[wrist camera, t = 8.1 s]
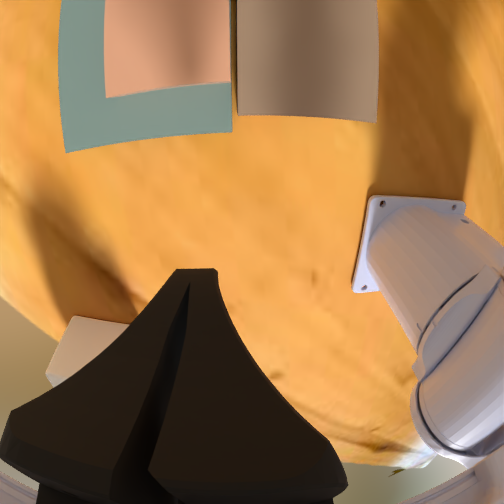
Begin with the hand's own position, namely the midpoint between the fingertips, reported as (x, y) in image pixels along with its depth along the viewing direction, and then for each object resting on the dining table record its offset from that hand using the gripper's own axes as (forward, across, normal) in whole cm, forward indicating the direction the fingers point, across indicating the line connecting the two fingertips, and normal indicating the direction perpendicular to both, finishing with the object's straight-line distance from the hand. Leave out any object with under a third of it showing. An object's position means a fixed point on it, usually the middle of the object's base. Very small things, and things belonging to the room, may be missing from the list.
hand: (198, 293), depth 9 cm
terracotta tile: (+8, +2, -11) cm, 14 cm away
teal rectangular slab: (+9, +4, -11) cm, 15 cm away
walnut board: (+9, -5, -11) cm, 15 cm away
